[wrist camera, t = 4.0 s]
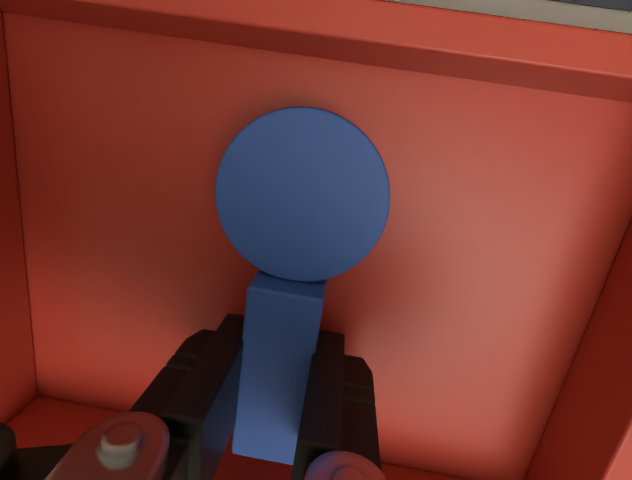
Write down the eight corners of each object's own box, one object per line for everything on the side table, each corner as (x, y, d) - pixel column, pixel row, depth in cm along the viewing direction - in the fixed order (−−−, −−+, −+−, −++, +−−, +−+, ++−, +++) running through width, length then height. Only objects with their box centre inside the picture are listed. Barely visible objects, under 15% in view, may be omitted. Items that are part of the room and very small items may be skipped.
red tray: (37, 394, 12) (-48, 465, 9) (-1, -13, 8) (-149, -74, 6) (525, 488, 11) (576, 593, 8) (692, 85, 8) (857, 62, 5)
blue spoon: (235, 97, 8) (207, 90, 6) (400, 122, 8) (413, 120, 6) (212, 400, 10) (189, 447, 9) (340, 423, 10) (338, 475, 9)
